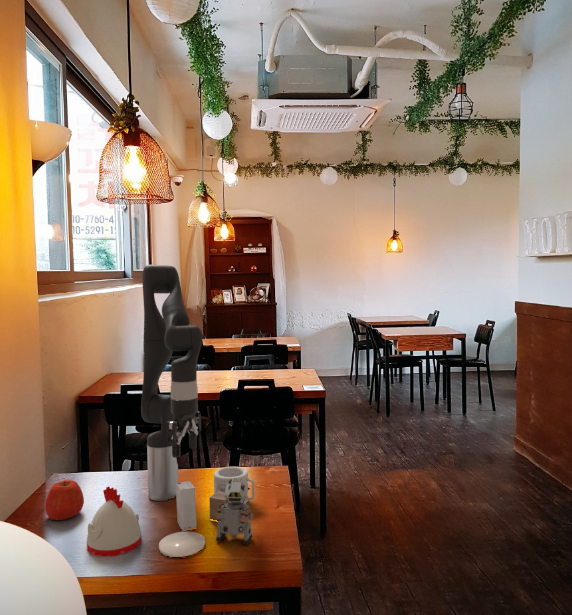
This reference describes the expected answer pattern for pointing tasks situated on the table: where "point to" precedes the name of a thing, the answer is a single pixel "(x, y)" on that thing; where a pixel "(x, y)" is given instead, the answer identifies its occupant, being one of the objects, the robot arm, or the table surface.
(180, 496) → the skincare box
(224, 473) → the mug
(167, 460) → the robot arm
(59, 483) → the apple
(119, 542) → the kitchen timer
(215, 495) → the walnut block
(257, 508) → the table surface
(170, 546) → the white glossy disc
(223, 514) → the figurine
